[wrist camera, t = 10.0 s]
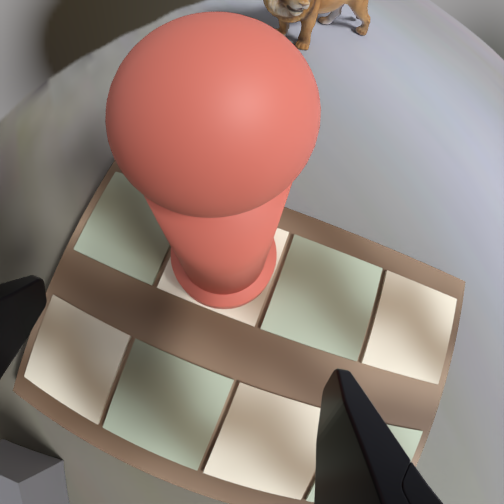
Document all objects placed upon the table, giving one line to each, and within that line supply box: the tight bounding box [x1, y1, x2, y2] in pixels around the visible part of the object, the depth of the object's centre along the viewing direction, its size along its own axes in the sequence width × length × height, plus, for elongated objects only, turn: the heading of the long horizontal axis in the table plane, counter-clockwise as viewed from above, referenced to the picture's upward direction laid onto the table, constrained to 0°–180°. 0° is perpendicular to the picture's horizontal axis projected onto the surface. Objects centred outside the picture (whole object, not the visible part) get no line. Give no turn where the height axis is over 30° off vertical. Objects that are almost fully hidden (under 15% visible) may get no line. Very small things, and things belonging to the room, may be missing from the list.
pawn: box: [105, 12, 321, 309], centre depth 10 cm, size 5×5×13 cm
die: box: [0, 439, 70, 504], centre depth 10 cm, size 5×5×5 cm
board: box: [13, 161, 465, 504], centre depth 16 cm, size 16×23×1 cm
